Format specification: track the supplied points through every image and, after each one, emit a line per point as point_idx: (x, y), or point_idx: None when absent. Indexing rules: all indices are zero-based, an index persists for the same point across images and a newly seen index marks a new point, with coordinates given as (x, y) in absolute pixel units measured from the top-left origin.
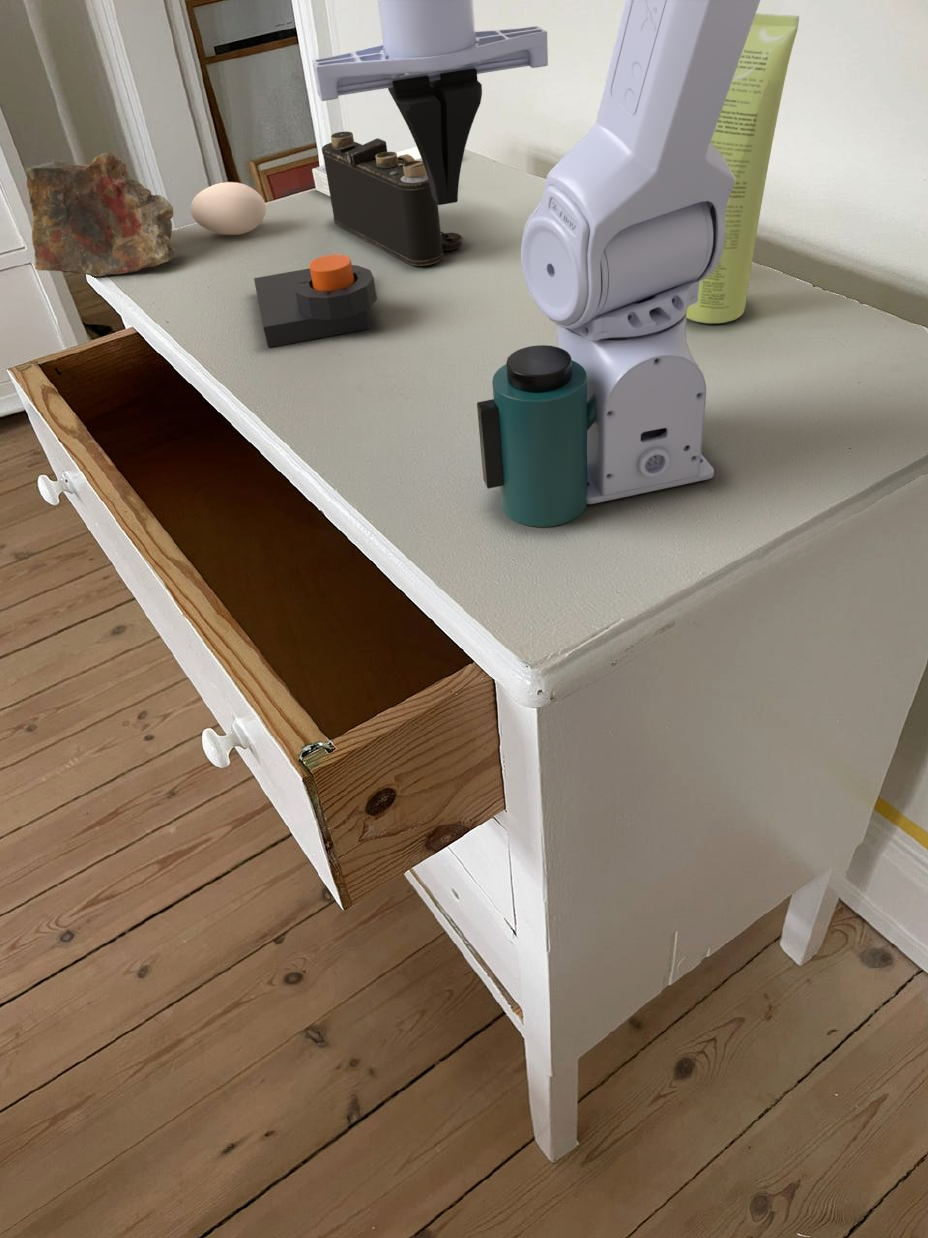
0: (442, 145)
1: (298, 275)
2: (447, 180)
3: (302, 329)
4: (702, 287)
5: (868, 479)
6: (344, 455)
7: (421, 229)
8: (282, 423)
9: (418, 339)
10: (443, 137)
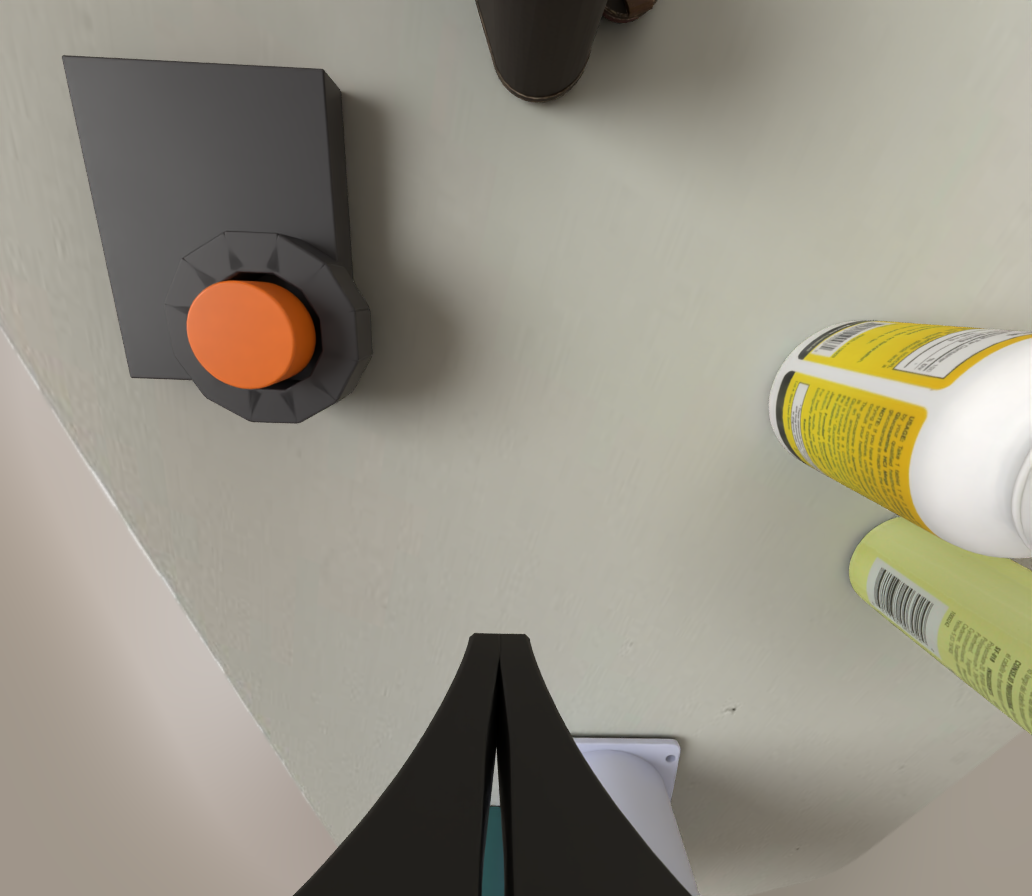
0: (506, 814)
1: (188, 105)
2: (498, 771)
3: None
4: (898, 627)
5: (776, 884)
6: (295, 708)
7: (535, 60)
8: (209, 617)
9: (440, 454)
10: (506, 877)
